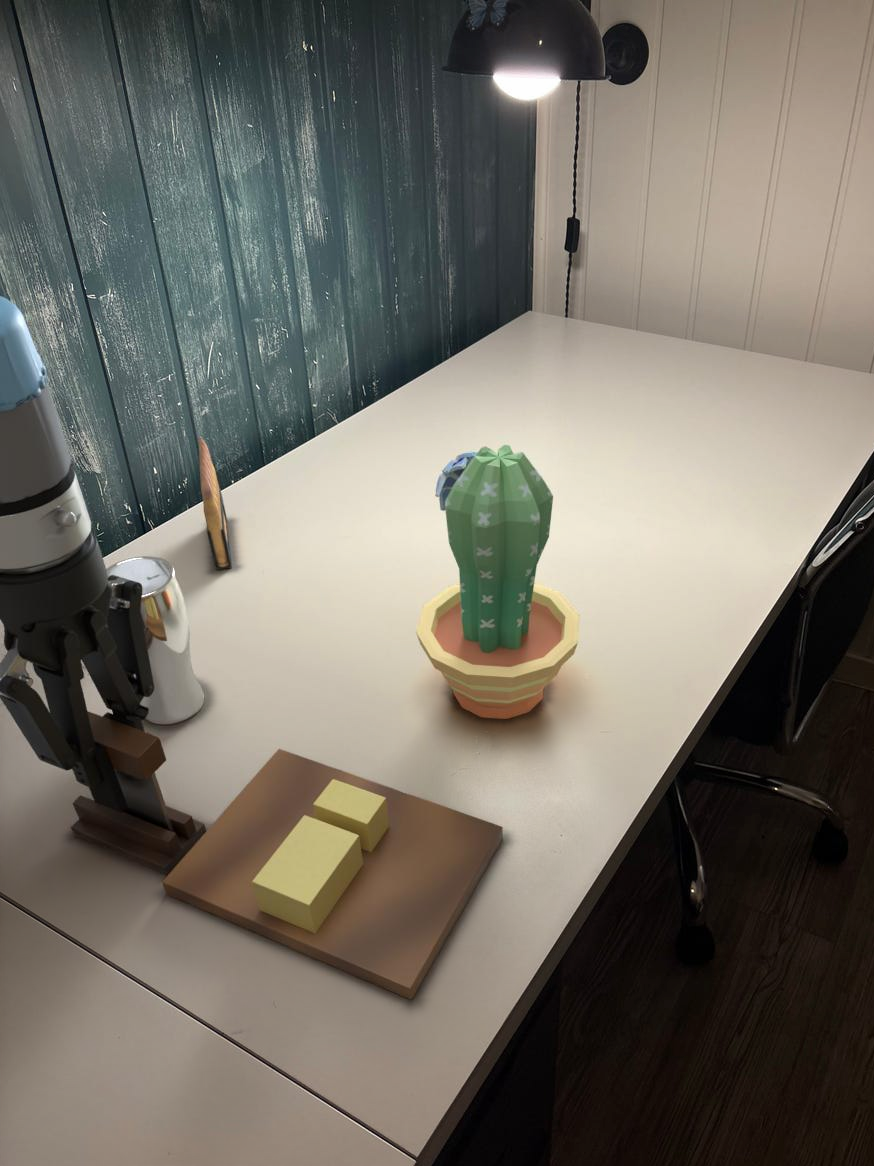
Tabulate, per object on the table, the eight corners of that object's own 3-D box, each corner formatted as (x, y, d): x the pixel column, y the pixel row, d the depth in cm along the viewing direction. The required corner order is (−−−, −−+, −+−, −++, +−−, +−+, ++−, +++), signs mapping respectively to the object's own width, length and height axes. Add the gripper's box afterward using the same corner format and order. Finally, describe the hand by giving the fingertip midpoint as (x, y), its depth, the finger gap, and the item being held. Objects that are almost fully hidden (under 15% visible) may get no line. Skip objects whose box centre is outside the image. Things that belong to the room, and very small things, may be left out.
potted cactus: (559, 632, 100) (569, 411, 84) (594, 733, 88) (613, 497, 72) (413, 646, 98) (396, 424, 83) (428, 752, 86) (412, 515, 71)
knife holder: (73, 835, 80) (62, 811, 78) (114, 794, 83) (105, 770, 81) (168, 875, 76) (159, 851, 74) (206, 831, 80) (199, 807, 78)
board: (165, 893, 75) (161, 882, 74) (281, 759, 86) (278, 748, 85) (411, 1000, 67) (410, 988, 66) (503, 838, 79) (503, 826, 78)
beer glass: (121, 720, 90) (77, 592, 81) (161, 674, 96) (123, 549, 86) (185, 734, 89) (148, 606, 79) (222, 687, 94) (191, 561, 84)
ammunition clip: (232, 568, 110) (212, 476, 103) (215, 570, 110) (194, 479, 102) (227, 521, 118) (208, 433, 111) (212, 523, 118) (192, 435, 110)
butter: (259, 910, 72) (251, 881, 69) (310, 843, 77) (304, 814, 74) (315, 934, 70) (309, 905, 68) (363, 864, 75) (359, 835, 73)
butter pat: (318, 832, 77) (312, 804, 75) (337, 807, 79) (332, 778, 77) (371, 852, 76) (367, 824, 73) (389, 826, 78) (386, 797, 76)
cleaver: (85, 818, 80) (46, 723, 73) (105, 798, 81) (69, 704, 74) (170, 853, 77) (138, 757, 70) (189, 832, 78) (159, 737, 71)
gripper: (-19, 625, 55) (92, 878, 70) (158, 500, 66) (221, 742, 80) (-109, 594, 57) (16, 845, 72) (76, 479, 68) (151, 717, 83)
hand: (124, 790), depth 76 cm, fingers closed on cleaver, 2 cm apart
